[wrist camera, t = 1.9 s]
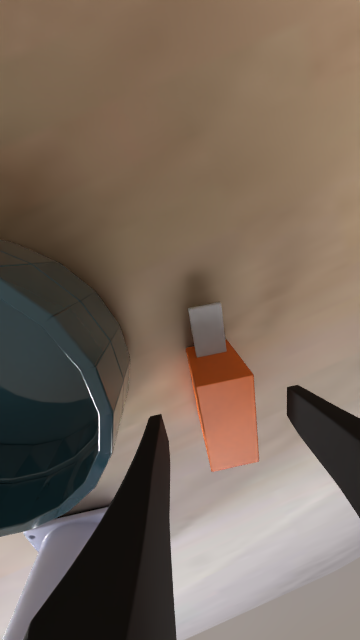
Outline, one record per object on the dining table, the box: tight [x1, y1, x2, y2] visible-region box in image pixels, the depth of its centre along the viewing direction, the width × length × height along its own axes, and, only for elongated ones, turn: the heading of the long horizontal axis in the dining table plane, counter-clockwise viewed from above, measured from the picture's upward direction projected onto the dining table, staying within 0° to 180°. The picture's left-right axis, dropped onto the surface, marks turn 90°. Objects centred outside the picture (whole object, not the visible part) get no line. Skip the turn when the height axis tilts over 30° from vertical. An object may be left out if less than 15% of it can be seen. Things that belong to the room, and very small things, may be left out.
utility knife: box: [186, 302, 259, 472], centre depth 11 cm, size 9×3×4 cm, turn 10°
